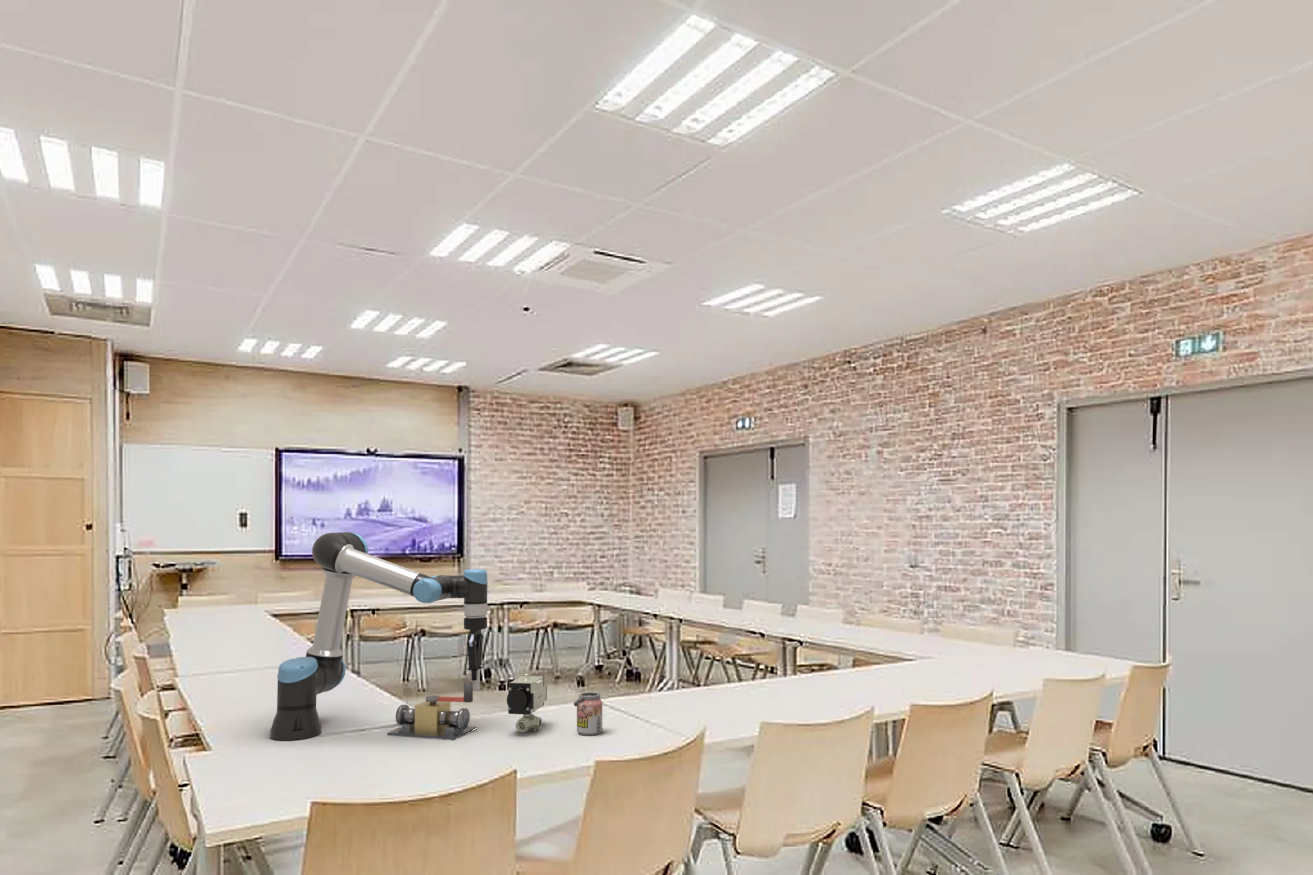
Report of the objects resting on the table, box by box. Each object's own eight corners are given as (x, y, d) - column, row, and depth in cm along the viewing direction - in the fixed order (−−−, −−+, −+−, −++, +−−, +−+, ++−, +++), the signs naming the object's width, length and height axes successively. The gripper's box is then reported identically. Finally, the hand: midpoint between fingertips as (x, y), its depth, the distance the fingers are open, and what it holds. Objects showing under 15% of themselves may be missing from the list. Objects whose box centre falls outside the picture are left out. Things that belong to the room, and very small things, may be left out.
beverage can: (568, 733, 270) (568, 694, 272) (588, 728, 277) (588, 690, 278) (588, 737, 264) (588, 698, 265) (608, 732, 270) (607, 693, 271)
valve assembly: (387, 735, 270) (387, 704, 271) (412, 725, 283) (412, 695, 284) (454, 740, 263) (454, 708, 264) (476, 729, 276) (476, 699, 277)
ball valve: (531, 738, 265) (531, 679, 266) (505, 737, 266) (505, 678, 268) (549, 724, 282) (549, 669, 284) (525, 723, 284) (525, 669, 286)
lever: (423, 701, 272) (423, 682, 273) (429, 699, 277) (429, 680, 277) (469, 703, 270) (469, 683, 270) (475, 700, 274) (475, 681, 275)
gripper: (469, 614, 287) (468, 686, 284) (459, 619, 274) (458, 694, 271) (491, 614, 286) (490, 686, 284) (482, 618, 273) (481, 694, 271)
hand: (475, 689), depth 278 cm, fingers closed
